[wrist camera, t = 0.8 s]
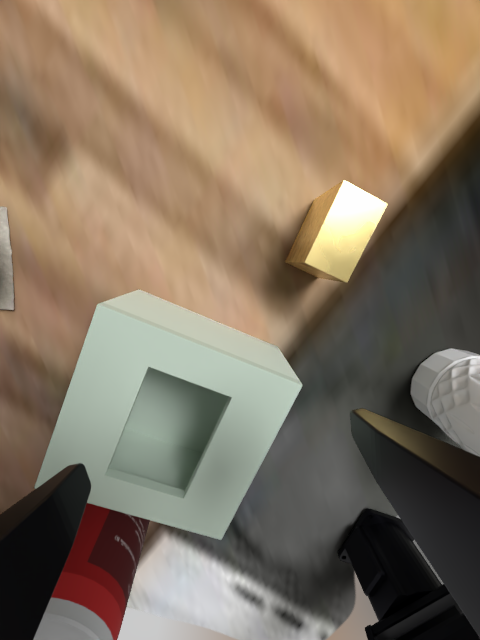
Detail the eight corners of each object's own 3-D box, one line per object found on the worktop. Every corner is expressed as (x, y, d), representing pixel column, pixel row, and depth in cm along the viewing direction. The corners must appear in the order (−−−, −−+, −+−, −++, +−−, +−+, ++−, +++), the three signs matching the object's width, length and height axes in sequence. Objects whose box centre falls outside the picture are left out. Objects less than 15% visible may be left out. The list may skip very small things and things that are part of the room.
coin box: (277, 346, 22) (302, 385, 15) (221, 461, 24) (221, 539, 17) (139, 289, 20) (97, 303, 13) (91, 418, 22) (34, 488, 15)
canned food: (53, 497, 24) (-84, 691, 13) (101, 434, 23) (-5, 589, 12) (126, 533, 25) (57, 735, 15) (175, 476, 24) (138, 647, 13)
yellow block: (347, 217, 20) (387, 204, 15) (317, 277, 21) (346, 282, 16) (313, 199, 20) (344, 179, 15) (284, 262, 21) (304, 262, 16)
